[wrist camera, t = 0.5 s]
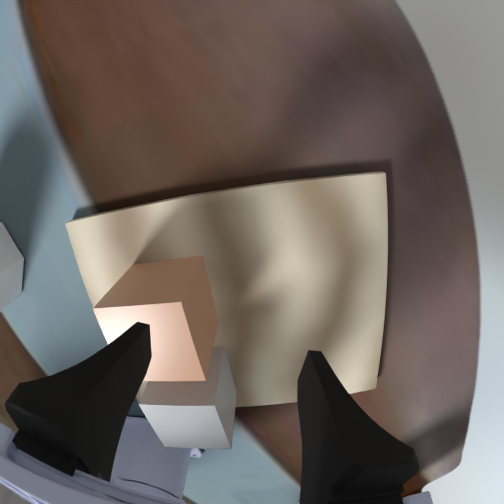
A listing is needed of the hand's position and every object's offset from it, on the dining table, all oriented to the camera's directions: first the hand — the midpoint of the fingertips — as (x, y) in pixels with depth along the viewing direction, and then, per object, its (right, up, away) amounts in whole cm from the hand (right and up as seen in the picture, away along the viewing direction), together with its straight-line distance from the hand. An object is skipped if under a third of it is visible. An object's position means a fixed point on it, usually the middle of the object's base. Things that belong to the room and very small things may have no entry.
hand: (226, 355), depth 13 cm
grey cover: (-3, -6, +12) cm, 14 cm away
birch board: (0, -1, +11) cm, 11 cm away
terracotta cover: (-5, +1, +9) cm, 11 cm away
